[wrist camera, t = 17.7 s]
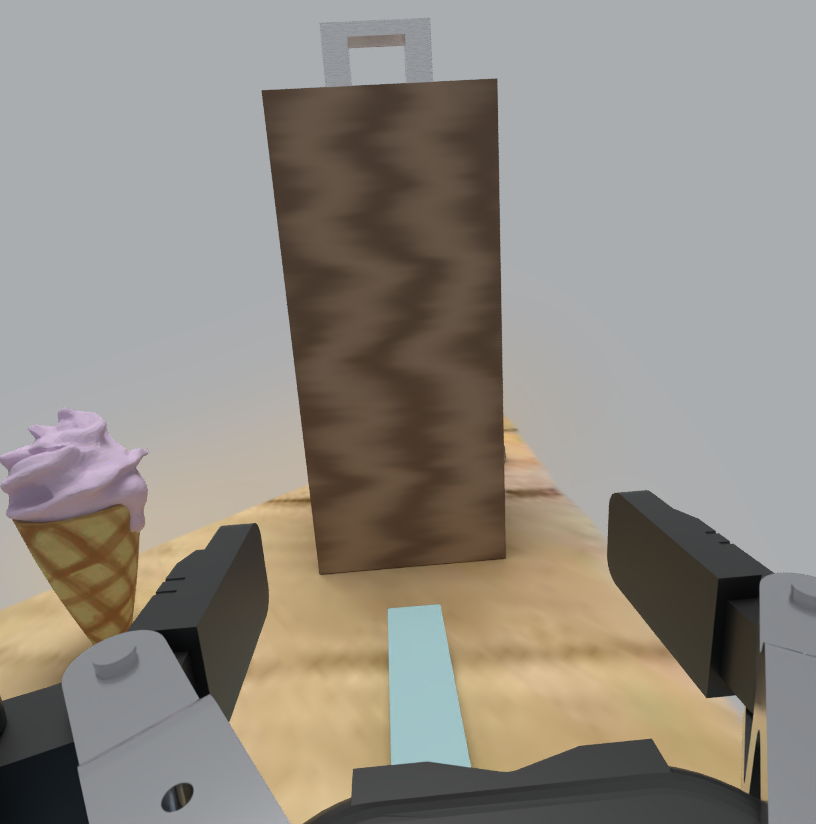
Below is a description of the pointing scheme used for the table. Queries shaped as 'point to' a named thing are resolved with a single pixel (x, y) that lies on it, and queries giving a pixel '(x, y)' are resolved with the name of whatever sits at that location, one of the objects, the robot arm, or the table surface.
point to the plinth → (395, 316)
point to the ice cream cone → (81, 517)
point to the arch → (376, 35)
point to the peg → (423, 690)
